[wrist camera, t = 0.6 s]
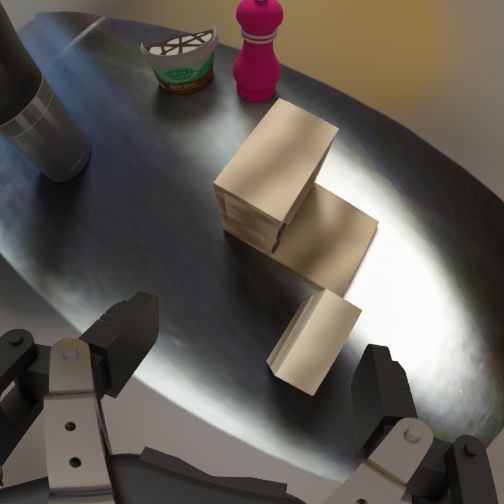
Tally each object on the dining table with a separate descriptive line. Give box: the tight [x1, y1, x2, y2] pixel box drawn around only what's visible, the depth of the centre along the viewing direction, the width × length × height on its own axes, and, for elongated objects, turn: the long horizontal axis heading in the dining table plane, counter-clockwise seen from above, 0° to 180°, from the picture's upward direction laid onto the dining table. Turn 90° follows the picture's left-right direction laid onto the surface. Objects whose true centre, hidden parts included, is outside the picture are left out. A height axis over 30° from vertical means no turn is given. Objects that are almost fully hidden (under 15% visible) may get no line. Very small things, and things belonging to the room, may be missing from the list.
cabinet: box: [214, 98, 379, 297], centre depth 35 cm, size 18×12×14 cm
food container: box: [141, 26, 219, 95], centre depth 43 cm, size 12×6×10 cm, turn 107°
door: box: [266, 289, 362, 396], centre depth 33 cm, size 5×9×12 cm, turn 149°
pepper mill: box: [233, 0, 283, 102], centre depth 38 cm, size 7×7×20 cm
